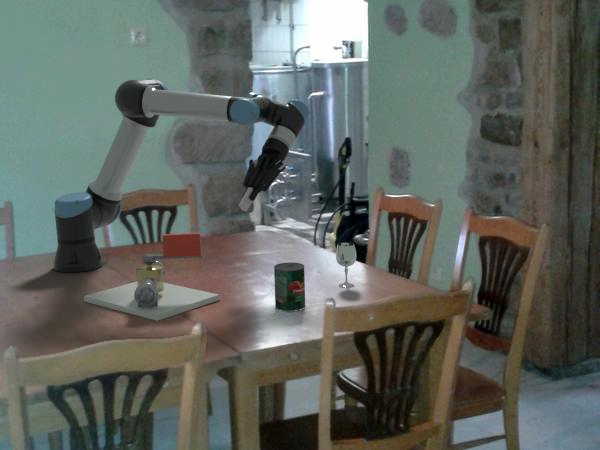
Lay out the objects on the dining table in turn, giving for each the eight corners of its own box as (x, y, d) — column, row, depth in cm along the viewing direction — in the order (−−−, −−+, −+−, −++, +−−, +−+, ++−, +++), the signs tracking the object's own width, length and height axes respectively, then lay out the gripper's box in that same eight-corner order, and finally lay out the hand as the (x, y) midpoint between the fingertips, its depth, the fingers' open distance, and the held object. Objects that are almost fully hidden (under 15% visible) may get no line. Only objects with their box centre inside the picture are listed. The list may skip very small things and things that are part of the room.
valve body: (142, 283, 226) (140, 253, 224) (167, 282, 226) (165, 252, 225) (133, 310, 200) (130, 275, 198) (160, 308, 201) (158, 274, 199)
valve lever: (141, 264, 210) (140, 237, 208) (143, 260, 213) (141, 234, 212) (201, 261, 211) (199, 234, 210) (201, 258, 215) (200, 231, 213)
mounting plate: (84, 301, 215) (83, 296, 214) (146, 283, 231) (146, 278, 231) (157, 320, 196) (156, 315, 196) (219, 300, 213) (219, 294, 212)
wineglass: (355, 288, 220) (354, 246, 218) (334, 288, 221) (334, 246, 219) (357, 283, 226) (357, 242, 224) (338, 282, 227) (337, 242, 225)
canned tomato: (302, 312, 200) (301, 270, 198) (272, 311, 202) (271, 269, 199) (307, 303, 208) (306, 262, 206) (278, 302, 209) (277, 262, 207)
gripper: (301, 153, 232) (266, 218, 223) (268, 151, 240) (232, 214, 231) (289, 137, 227) (252, 202, 218) (255, 135, 235) (219, 198, 226)
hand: (242, 208), depth 224 cm, fingers closed
